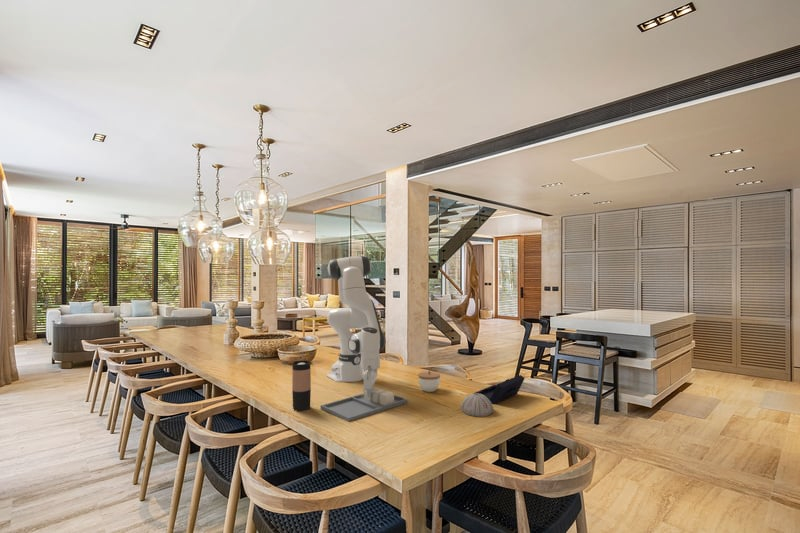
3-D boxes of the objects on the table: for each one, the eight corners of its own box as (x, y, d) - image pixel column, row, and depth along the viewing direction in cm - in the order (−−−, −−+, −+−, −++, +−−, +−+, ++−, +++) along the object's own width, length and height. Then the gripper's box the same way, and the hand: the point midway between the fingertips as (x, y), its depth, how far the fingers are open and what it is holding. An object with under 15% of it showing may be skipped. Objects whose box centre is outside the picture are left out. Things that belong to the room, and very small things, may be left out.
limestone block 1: (363, 398, 182) (363, 388, 182) (371, 395, 185) (371, 386, 185) (370, 400, 179) (370, 390, 179) (377, 398, 182) (377, 388, 182)
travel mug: (289, 409, 171) (288, 362, 171) (304, 404, 176) (304, 359, 176) (298, 413, 165) (298, 365, 165) (314, 409, 171) (314, 362, 171)
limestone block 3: (379, 403, 174) (379, 393, 174) (387, 401, 177) (387, 391, 177) (386, 406, 171) (386, 395, 171) (394, 403, 174) (394, 393, 174)
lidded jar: (439, 394, 190) (438, 374, 190) (416, 392, 193) (416, 373, 193) (441, 387, 201) (441, 368, 201) (420, 386, 203) (420, 367, 203)
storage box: (494, 389, 198) (494, 369, 198) (524, 397, 186) (524, 375, 186) (470, 399, 183) (470, 378, 183) (501, 408, 172) (501, 385, 172)
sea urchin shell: (492, 408, 171) (492, 390, 171) (494, 420, 157) (494, 400, 157) (461, 407, 173) (461, 388, 173) (460, 418, 160) (460, 398, 160)
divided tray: (320, 410, 169) (320, 405, 169) (378, 393, 191) (378, 389, 191) (348, 423, 155) (348, 418, 155) (407, 404, 177) (407, 399, 177)
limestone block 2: (371, 400, 179) (371, 390, 179) (380, 398, 181) (380, 388, 181) (376, 403, 175) (376, 393, 175) (385, 401, 177) (385, 391, 177)
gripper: (374, 369, 171) (374, 401, 171) (379, 358, 192) (379, 387, 192) (360, 369, 172) (360, 401, 172) (366, 358, 192) (366, 387, 192)
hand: (370, 394), depth 182 cm, fingers closed on limestone block 1, 6 cm apart
